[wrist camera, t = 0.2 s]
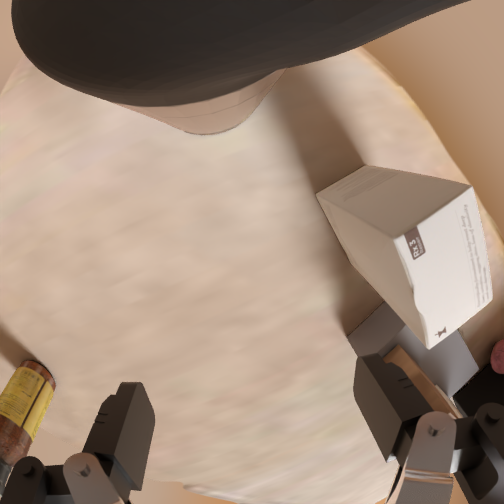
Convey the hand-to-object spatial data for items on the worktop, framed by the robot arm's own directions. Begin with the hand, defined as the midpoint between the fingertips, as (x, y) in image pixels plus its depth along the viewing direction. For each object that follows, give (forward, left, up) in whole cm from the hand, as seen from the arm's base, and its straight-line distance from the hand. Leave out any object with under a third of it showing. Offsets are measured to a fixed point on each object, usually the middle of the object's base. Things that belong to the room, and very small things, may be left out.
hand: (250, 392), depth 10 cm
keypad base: (+17, +21, -18) cm, 32 cm away
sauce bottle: (+15, -30, -18) cm, 38 cm away
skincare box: (-1, +11, -18) cm, 21 cm away
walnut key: (+14, +15, -13) cm, 24 cm away
